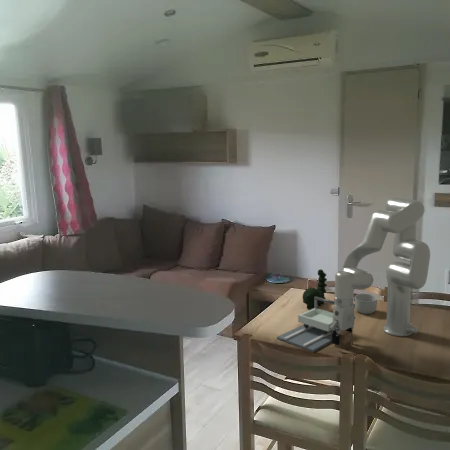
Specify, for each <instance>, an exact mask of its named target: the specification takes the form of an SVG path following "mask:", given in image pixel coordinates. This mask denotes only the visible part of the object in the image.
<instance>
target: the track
mask: <svg viewBox="0 0 450 450" xmlns="http://www.w3.org/2000/svg"><path fill="white" fill-rule="evenodd" d="M338 328H339V327H338ZM322 331H323V330H322V329H319V328H316V327H313V326H310V325H309V327H308V328H305V327H304V324H302V325H300V326H298V327H296V328H293V329H291V330H289V331H287V332H285V333H283V334H281V335H277V337H276V338H277V340H279V341H281V342H284V343H287V344H290V345H292V346H295V347H297V348H300V349H303V350H305V351H309V352H311V353H315V352H316V351H318V350H319V349H321V348H324V347H326V346H327V345H329V344H331V343H332V334H331V330H330V331H329V332H327V334H323V332H322ZM335 331H336V332H337V331H338V330H335Z"/></svg>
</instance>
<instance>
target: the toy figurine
mask: <svg viewBox="0 0 450 450" xmlns="http://www.w3.org/2000/svg"><path fill="white" fill-rule="evenodd" d="M317 276H318V278H317V281H318V282H317V284H316V285H317V287H316V288H315V287H308V288H306V289H305V290H304V291H303V293H302V302H303V304H305V305H306V309H307V311H309V310H311V309H314V297H315V296H316V297H320V298H324V299H327V298H326V296H325V294H326V292H327V289H326V287H327V286H328V285H327V283H326V282H327V280H328V278H326V276H327V273H325V271H324V270H323V269H318V270H317ZM323 305H325V302H323V301H319V300H317V307H321V306H323Z"/></svg>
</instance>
